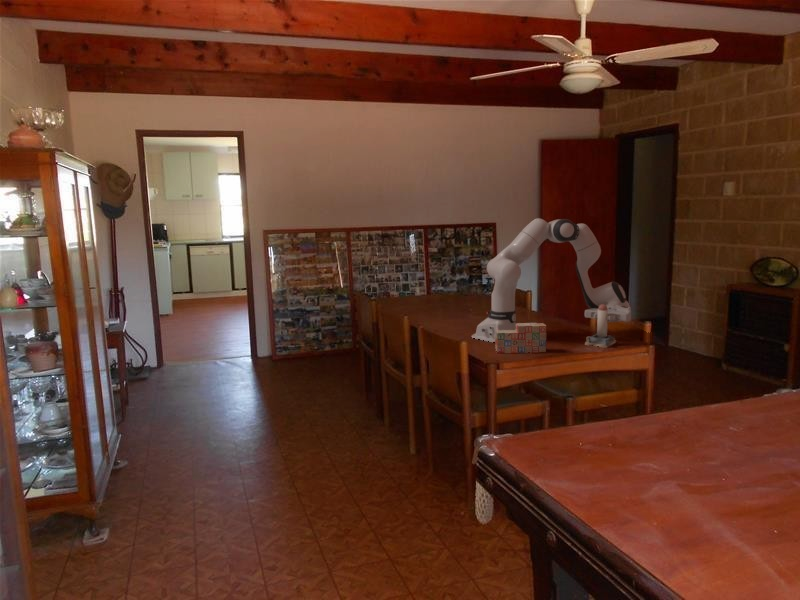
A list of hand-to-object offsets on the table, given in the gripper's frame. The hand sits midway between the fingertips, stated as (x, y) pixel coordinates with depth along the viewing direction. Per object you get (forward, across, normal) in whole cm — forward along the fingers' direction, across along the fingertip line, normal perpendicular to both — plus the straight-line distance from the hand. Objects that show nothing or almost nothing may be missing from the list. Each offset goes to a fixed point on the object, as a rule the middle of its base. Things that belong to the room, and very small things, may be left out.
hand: (601, 317), depth 268 cm
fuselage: (-1, 0, +8) cm, 9 cm away
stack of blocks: (+30, -26, +13) cm, 41 cm away
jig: (-2, -1, +13) cm, 13 cm away
